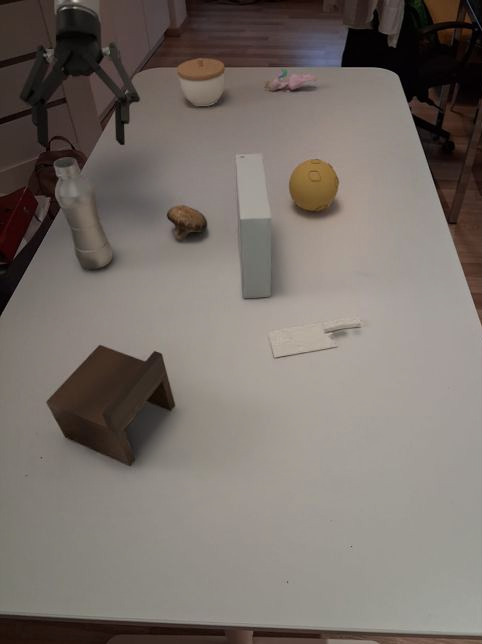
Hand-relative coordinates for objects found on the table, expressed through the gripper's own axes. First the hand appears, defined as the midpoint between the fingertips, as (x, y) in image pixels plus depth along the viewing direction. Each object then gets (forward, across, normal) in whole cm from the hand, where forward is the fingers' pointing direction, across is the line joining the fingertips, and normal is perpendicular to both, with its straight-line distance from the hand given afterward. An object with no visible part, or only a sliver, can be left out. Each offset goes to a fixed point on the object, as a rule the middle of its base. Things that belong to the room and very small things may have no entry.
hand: (81, 143), depth 93 cm
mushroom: (+14, -16, -13) cm, 25 cm away
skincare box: (+20, -29, -6) cm, 36 cm away
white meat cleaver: (+35, -40, +8) cm, 53 cm away
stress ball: (+8, -41, -19) cm, 46 cm away
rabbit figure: (-35, -38, -62) cm, 81 cm away
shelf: (+45, -12, +19) cm, 51 cm away
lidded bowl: (-31, -14, -58) cm, 67 cm away
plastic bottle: (+20, 0, -7) cm, 21 cm away
